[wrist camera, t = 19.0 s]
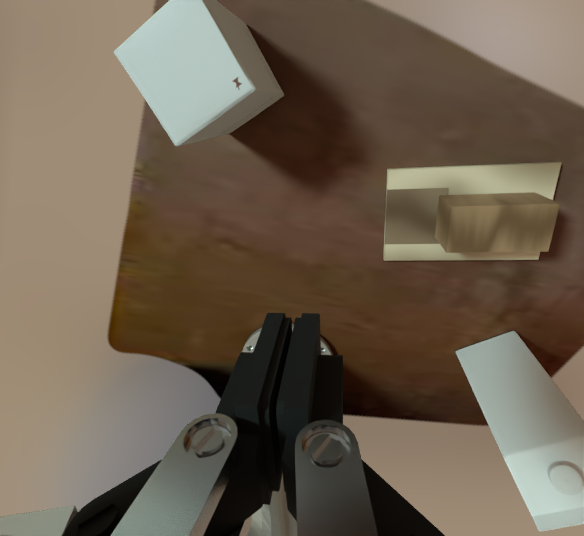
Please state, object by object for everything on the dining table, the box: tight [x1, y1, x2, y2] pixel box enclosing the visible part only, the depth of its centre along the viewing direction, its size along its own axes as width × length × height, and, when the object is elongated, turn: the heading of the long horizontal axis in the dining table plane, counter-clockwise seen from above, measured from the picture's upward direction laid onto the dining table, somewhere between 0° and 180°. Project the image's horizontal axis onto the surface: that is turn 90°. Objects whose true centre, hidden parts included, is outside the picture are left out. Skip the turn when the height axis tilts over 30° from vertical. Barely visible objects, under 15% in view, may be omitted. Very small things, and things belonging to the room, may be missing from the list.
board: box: [383, 162, 561, 261], centre depth 37 cm, size 10×16×1 cm, turn 94°
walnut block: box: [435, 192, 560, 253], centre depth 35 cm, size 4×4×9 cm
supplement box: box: [114, 0, 284, 146], centre depth 29 cm, size 7×7×13 cm
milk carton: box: [456, 331, 584, 531], centre depth 36 cm, size 7×7×19 cm
